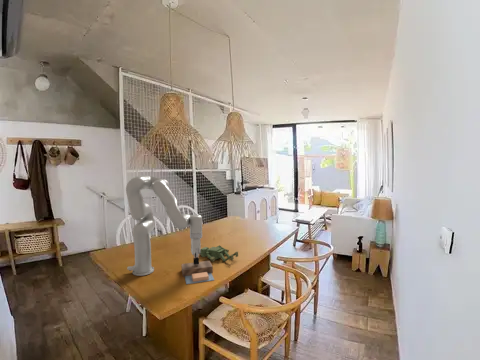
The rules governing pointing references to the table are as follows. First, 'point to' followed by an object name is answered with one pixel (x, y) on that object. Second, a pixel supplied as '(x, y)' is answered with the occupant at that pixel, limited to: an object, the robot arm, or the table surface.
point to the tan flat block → (200, 276)
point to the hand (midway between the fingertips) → (196, 263)
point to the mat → (190, 281)
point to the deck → (196, 268)
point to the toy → (216, 253)
